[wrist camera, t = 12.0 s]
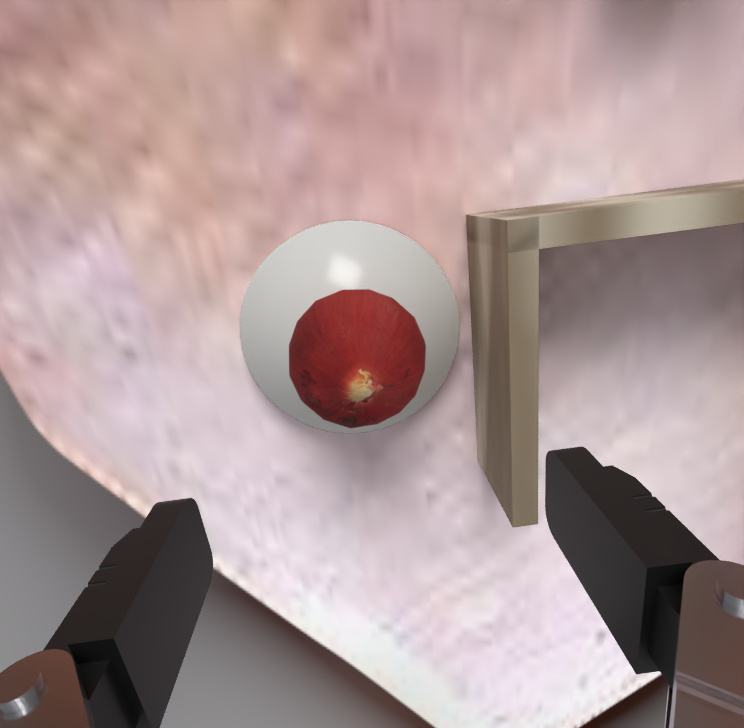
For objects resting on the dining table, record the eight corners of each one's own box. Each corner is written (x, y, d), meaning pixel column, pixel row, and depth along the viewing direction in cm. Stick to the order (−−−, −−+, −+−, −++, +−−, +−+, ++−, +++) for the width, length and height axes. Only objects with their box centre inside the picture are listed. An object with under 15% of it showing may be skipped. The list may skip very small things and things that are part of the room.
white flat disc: (447, 206, 23) (453, 206, 22) (459, 409, 27) (465, 418, 25) (222, 234, 23) (216, 236, 21) (266, 435, 26) (263, 445, 25)
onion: (386, 401, 25) (406, 490, 17) (281, 367, 24) (254, 446, 16) (429, 299, 23) (472, 348, 16) (318, 258, 22) (306, 289, 15)
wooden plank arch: (845, 166, 23) (1006, 156, 18) (792, 417, 28) (906, 472, 22) (466, 214, 23) (507, 220, 17) (477, 460, 28) (512, 527, 22)
